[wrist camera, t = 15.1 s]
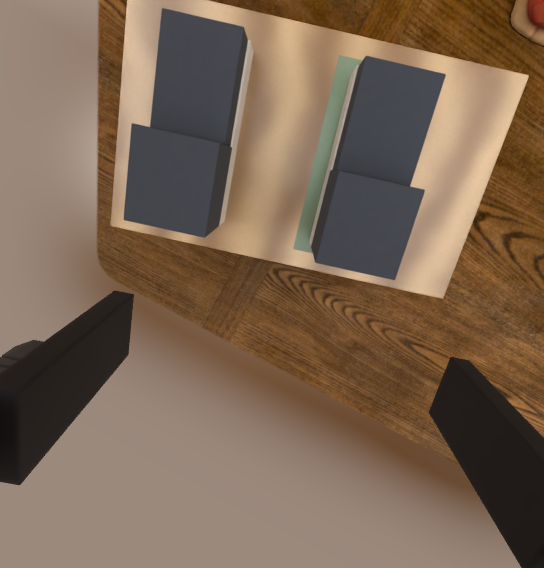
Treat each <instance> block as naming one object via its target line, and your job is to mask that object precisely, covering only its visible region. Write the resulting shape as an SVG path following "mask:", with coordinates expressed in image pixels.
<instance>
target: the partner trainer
mask: <svg viewBox="0 0 544 568" xmlns="http://www.w3.org/2000/svg"><path fill="white" fill-rule="evenodd" d="M253 53H254V51H253V48H252V45H251V41H250V40H248V38H247V35H246V32H245V29H244V27H243V26H238V25H234V24H230V23H226V22H221V21H217V20H213V19H208V18H204V17H200V16H195V15H191V14H187V13H183V12H178V11H174V10H170V9H165V8H162V11H161V21H160V31H159V41H158V51H157V61H156V71H155V81H154V91H153V101H152V111H151V121H150V127H147V126H143V125H138V124H134V123H132V125H131V136H130V148H129V160H128V172H127V183H126V195H125V207H124V220H125V221H130V222H135V223H139V224H144V225H148V226H153V227H157V228H162V229H166V230H171V231H175V232H180V233H185V234H189V235H194V236H198V237H203V238H205V237H207V236H208V235H209V234H210V233H211V232H213V231H214V230H215V229H216V228H217V227H219V226H220V225H221V224H222V223H223V222H224V221H225V216H226V210H227V204H228V198H229V192H230V187H231V181H232V175H233V169H234V163H235V158H236V152H237V146H238V140H239V134H240V129H241V123H242V117H243V111H244V105H245V100H246V94H247V88H248V82H249V76H250V71H251V65H252V59H253Z"/></svg>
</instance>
